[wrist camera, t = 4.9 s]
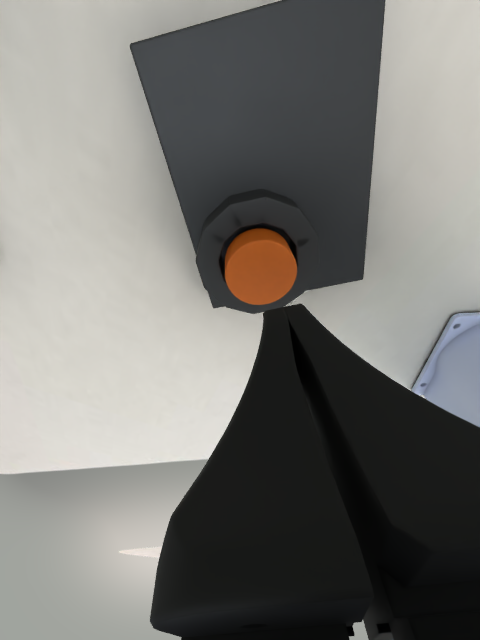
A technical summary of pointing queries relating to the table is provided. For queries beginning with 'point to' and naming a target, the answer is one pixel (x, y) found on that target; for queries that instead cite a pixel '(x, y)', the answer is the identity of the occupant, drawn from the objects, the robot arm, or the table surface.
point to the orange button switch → (271, 133)
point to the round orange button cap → (259, 266)
